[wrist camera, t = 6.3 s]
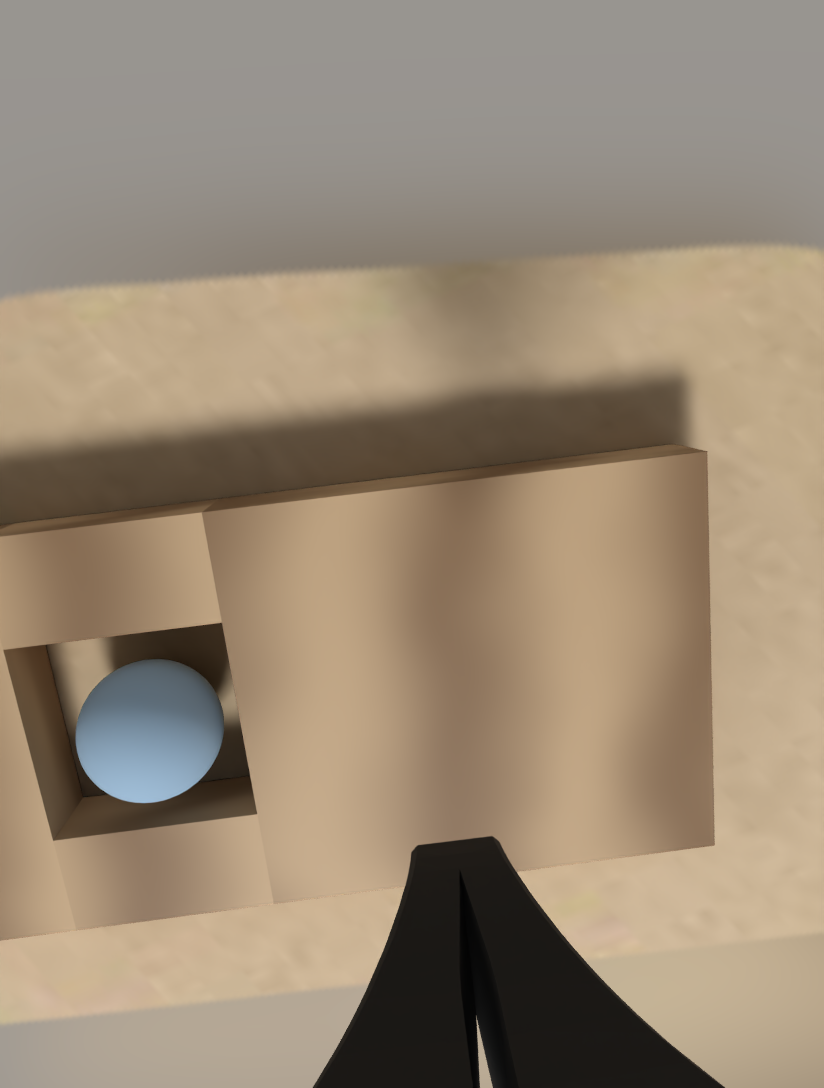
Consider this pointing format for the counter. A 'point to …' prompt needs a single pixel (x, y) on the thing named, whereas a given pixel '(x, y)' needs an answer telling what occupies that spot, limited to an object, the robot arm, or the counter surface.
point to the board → (374, 683)
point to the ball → (149, 731)
